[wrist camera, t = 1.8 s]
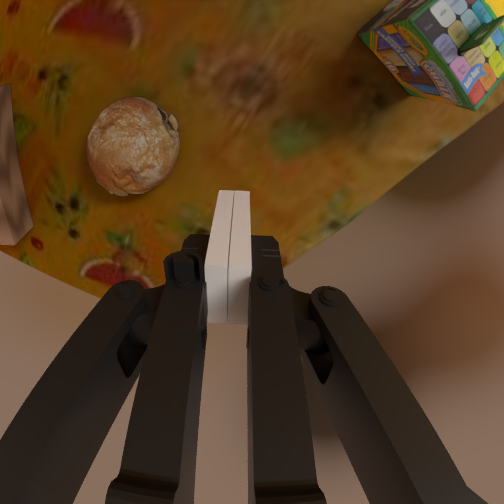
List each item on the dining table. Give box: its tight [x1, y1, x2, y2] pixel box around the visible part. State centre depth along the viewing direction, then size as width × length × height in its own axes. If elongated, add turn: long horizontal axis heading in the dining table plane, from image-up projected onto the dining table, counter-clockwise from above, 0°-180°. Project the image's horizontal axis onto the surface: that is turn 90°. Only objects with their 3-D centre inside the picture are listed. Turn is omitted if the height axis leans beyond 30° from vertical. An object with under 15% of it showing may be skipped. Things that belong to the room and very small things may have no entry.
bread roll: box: [86, 97, 180, 196], centre depth 27 cm, size 10×10×8 cm
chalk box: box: [357, 0, 504, 111], centre depth 17 cm, size 9×9×15 cm
